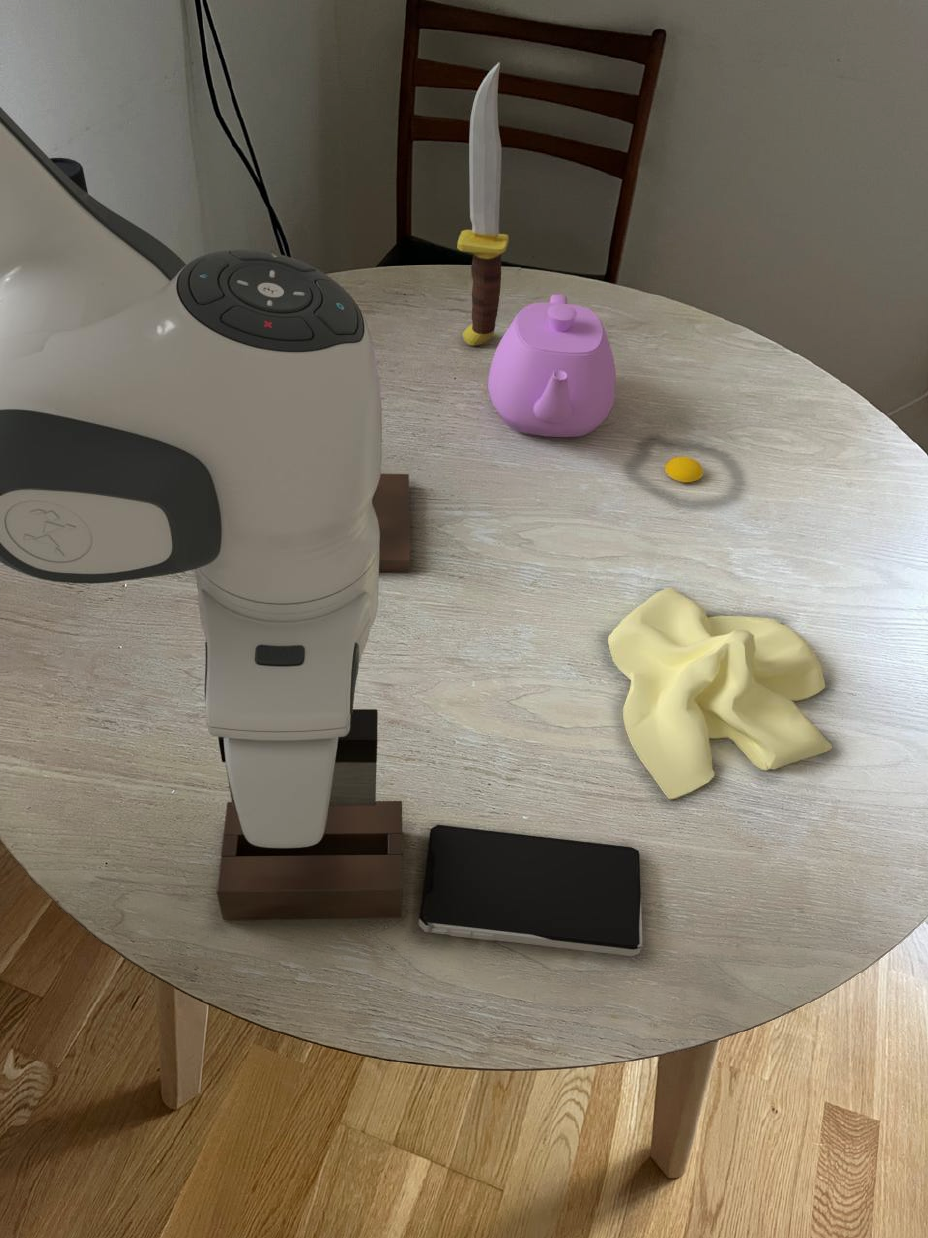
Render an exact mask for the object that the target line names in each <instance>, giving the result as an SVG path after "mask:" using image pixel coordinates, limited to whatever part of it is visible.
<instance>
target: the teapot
mask: <svg viewBox="0 0 928 1238" xmlns="http://www.w3.org/2000/svg"><path fill="white" fill-rule="evenodd" d="M489 367H490V368H489V373H488V379H487V386H488V387H487V389H488V394H489V397H490V400H491V403H492V406H493V407H494V409H495V411H496V413H497V414H498V415H499V417H500V419H501V420H502V421H503V422H504V423H505V424H506V425H507V426H508V427H509V428H511V429H512V430H515V431H517V432H521V433H524V434H529V435H536V436H540V437H541V436H542V437H550V438H551V437H552V438H577V437H582V436H583V437H584V436H585V435H587V434H589V433H591V432H593V431H594V430H595V429H596V428H598V427H599V426H600V425H601V424H602V423H603V422H604V421H605V420H606V418H607V417H608V415H609V413H610V411H611V410H612V407H613V405H614V401H615V396H616V379H617V377H616V367H615V359H614V356H613V351H612V348H611V345H610V341H609V338H608V336H607V332H606V330H605V327H604V324H603V323H602V321H601V319H600V317H599V316H598V314H597V313H595V312H594V311H593V310H592V309H590V308H588V307H584V306H581V305H575V304H568V297H567V296H566V295H563V294H552V295H551V296H550V297H549V302H532V303H530V304H527V305H525V306H524V307H523V308H522V309H521V310H520V311H519V312H518V313H517V315H516V316H515V317H514V319H513V320H512V322H511V324H510V325H509V326H508V328H507V329H506V331H505V333H504V334H503V336H502V338H501V339H500V341H499V343H498V345H497V347H496V350H495V352H494V354H493V358H492V360H491V364H490V366H489Z"/></svg>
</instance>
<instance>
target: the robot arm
mask: <svg viewBox="0 0 928 1238" xmlns="http://www.w3.org/2000/svg"><path fill="white" fill-rule="evenodd" d="M50 158H51V157H49V156H48V154H46V153H45V152H44V151H43V150H42V149H41V148H40V147H39V146H38V145H37V144H36V142H35V141H33V140H32V138H31V137H29V135H28V134H27V133H26V132H25V131H24V130H23V129H22V128H21V127H20V126H19V124H17V123H16V121H14V120H13V118H11V116H10V115H9V114H8V113H7V112H6V111H5V110H4V109H3V108H2V107H1V106H0V563H1V564H3V565H5V566H6V567H8V568H11V569H12V570H14V571H17V572H19V573H21V574H24V575H27V576H29V577H33V578H36V579H39V580H45V581H49V582H55V583H56V582H57V583H63V584H65V583H66V584H108V583H110V584H111V583H118V582H124V581H133V580H139V579H140V580H141V579H148V578H157V577H162V576H168V575H174V574H181V573H185V572H189V571H194V574H195V580H196V588H197V602H198V609H199V610H198V611H199V615H200V616H199V617H200V622H201V627H202V631H203V635H204V639H205V643H204V645H205V646H204V647H205V648H204V649H205V652H204V653H205V663H204V664H205V666H204V668H205V669H204V715H205V716H204V717H205V722H206V727H207V730H208V732H209V734H210V735H211V736H213V737H217V738H218V737H224V750H225V759H226V763H225V767H226V766H227V769H226V773H227V772H228V775H227V778H228V777H229V781H228V783H229V782H230V786H231V790H232V794H233V798H234V802H235V806H236V810H237V814H238V817H239V821H240V824H241V828H242V831H243V833H244V836H245V838H246V839H247V840H248V842H250V843H251V844H253V845H255V846H259V847H266V848H301V847H308V846H312V845H315V844H317V843H318V842H319V841H320V840H321V839H322V837H323V834H324V831H325V826H326V821H327V815H328V808H329V801H330V794H331V787H332V780H333V773H334V766H335V759H336V751H337V744H338V737H344V736H346V735H347V734H348V733H349V731H350V717H351V714H353V709H354V703H355V702H354V701H355V694H356V693H355V692H356V685H357V679H358V674H359V668H360V661H361V659H362V656H363V653H364V651H365V648H366V646H367V643H368V640H369V635H370V631H371V628H372V627H373V625H374V623H375V621H376V618H377V614H378V608H379V579H380V577H379V576H380V572H379V542H380V530H379V524H378V519H377V516H376V513H375V510H374V507H373V505H372V498H373V496H374V493H375V491H376V489H377V486H378V483H379V479H380V474H382V461H383V459H382V457H383V456H382V455H383V417H382V395H381V383H380V382H381V381H380V373H379V366H378V361H377V354H376V349H375V345H374V342H373V337H372V334H371V331H370V328H369V325H368V323H367V321H366V319H365V317H364V314H363V312H362V310H361V308H360V307H359V306H358V304H357V302H356V301H355V299H353V297H352V296H351V294H350V293H349V292H347V290H346V289H345V288H344V287H343V286H342V285H341V284H339V282H337V281H336V280H334V279H333V278H332V277H331V276H329V275H328V274H326V273H325V272H323V271H321V270H319V269H318V268H315V267H313V266H312V265H310V264H308V263H305V262H303V261H301V260H299V259H296V258H293V257H290V256H288V255H287V256H286V255H283V254H279V253H275V252H270V251H265V250H255V249H251V250H250V249H227V250H221V251H216V252H215V251H214V252H210V253H207V254H204V255H201V256H198V257H197V258H194V259H192V260H191V261H190V262H187V264H186V263H185V261H184V260H183V259H182V258H181V257H180V256H179V255H177V254H176V253H175V252H174V251H173V250H172V249H171V248H169V247H168V245H166V244H164V243H163V242H162V241H160V240H159V239H157V238H156V237H155V236H154V235H152V234H150V233H149V232H148V231H145V230H144V229H143V228H141V227H139V226H138V225H136V224H134V223H133V222H131V221H129V220H128V219H126V218H125V217H123V216H121V215H120V214H118V213H116V212H115V211H114V210H112V209H111V208H109V207H107V206H106V205H104V204H102V203H101V202H100V201H98V200H97V199H96V198H94V197H93V196H91V195H90V194H89V193H88V194H87V193H86V192H85V191H84V190H83V189H81V188H80V187H79V186H78V185H77V184H75V183H74V182H73V181H72V180H71V179H70V178H69V177H68V176H67V175H66V174H65V173H64V172H63V171H61V170H60V169H59V168H58V167H57V166H56V165H55V164H54V163H53V161H52V160H51V159H50Z"/></svg>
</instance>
